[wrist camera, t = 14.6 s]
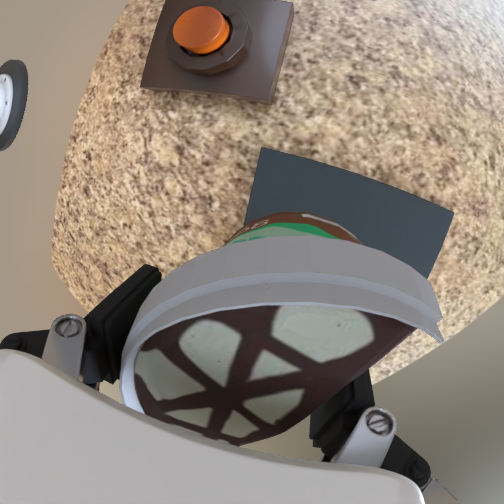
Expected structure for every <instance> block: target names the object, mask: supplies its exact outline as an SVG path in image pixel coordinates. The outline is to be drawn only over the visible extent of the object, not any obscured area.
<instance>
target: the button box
mask: <svg viewBox="0 0 504 504" xmlns="http://www.w3.org/2000/svg"><path fill="white" fill-rule="evenodd" d="M199 6H208V7H213V8H215V9H217V10H218V11H219V12H220V13H221V14H222V16H223V17H224V18H225V20H226V21H227V23H228V24H229V27H230V34H229V37H228V39H227V41H226V42H225V44H224V45H223V46H222V47H221V48H219V49H218V50H216V51H214V52H212V53H209V54H202V55H200V54H194V53H191V52H190V51H188V50H187V49H185V48H184V47H182V46H181V45H179V44H178V43H177V42H176V41H175V39H174V36H173V28H174V25H175V23H176V21H177V20H178V18H179V17H180V16H181V15H182V14H183V13H185V12H186V11H188V10H190V9H192V8H195V7H199ZM293 17H294V9H293V3H292V2H286V1H279V0H165V3H164V6H163V9H162V11H161V14H160V17H159V20H158V23H157V26H156V29H155V32H154V35H153V39H152V42H151V46H150V49H149V53H148V56H147V60H146V64H145V68H144V72H143V76H142V80H141V85H140V87H141V88H145V89H149V90H153V91H170V92H184V93H195V94H204V95H213V96H220V97H228V98H234V99H240V100H246V101H252V102H257V103H263V104H268V105H272V102H273V98H274V94H275V90H276V86H277V82H278V78H279V74H280V69H281V65H282V61H283V57H284V53H285V49H286V45H287V41H288V37H289V33H290V29H291V25H292V21H293Z"/></svg>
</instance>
